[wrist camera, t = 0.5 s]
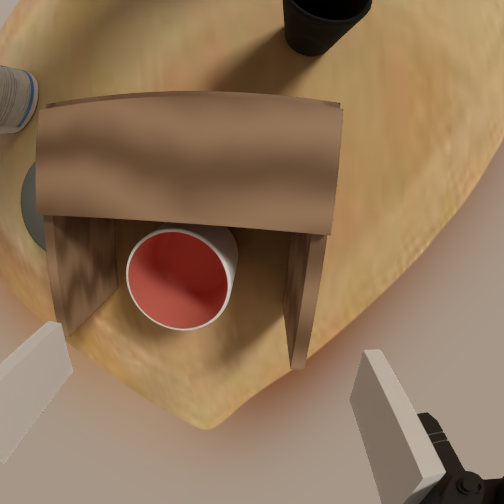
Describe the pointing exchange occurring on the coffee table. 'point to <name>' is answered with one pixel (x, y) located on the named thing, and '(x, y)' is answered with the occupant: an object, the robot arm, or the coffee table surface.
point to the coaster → (32, 208)
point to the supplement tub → (16, 99)
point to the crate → (185, 185)
